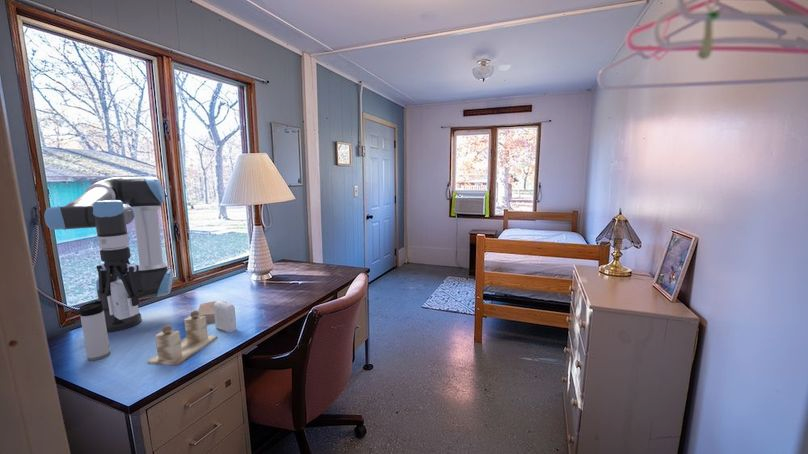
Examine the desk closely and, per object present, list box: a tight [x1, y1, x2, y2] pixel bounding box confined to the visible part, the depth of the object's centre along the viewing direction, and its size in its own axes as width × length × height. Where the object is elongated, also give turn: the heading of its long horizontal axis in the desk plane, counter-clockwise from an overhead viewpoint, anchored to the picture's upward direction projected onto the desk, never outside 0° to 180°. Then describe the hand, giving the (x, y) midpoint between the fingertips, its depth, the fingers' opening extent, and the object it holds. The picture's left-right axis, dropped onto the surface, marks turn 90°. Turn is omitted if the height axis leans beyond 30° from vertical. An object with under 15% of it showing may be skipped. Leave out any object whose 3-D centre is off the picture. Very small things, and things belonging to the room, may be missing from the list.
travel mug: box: [78, 300, 111, 361], centre depth 123 cm, size 6×7×20 cm
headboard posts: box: [146, 310, 218, 366], centre depth 127 cm, size 12×20×13 cm, turn 171°
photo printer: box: [214, 300, 237, 333], centre depth 144 cm, size 10×4×12 cm, turn 61°
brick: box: [197, 300, 218, 324], centre depth 158 cm, size 16×8×5 cm, turn 23°
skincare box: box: [110, 280, 132, 320], centre depth 114 cm, size 6×4×12 cm
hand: (124, 313), depth 115 cm, fingers closed on skincare box, 7 cm apart
